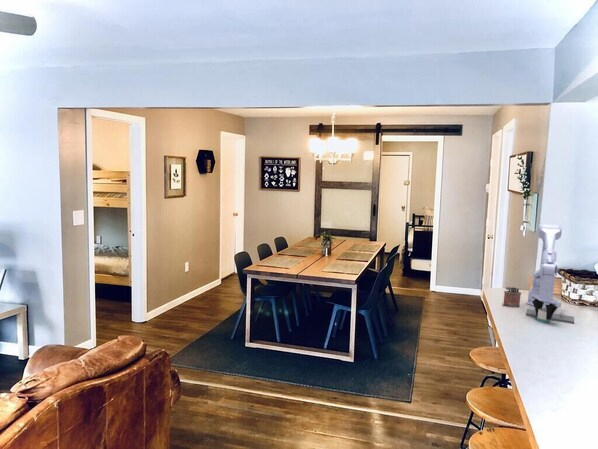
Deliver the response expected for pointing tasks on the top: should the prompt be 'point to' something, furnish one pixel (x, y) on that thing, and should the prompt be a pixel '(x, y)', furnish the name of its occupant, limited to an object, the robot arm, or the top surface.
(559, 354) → the top surface
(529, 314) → the pin board
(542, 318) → the sleeve
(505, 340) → the top surface
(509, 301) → the lighter
